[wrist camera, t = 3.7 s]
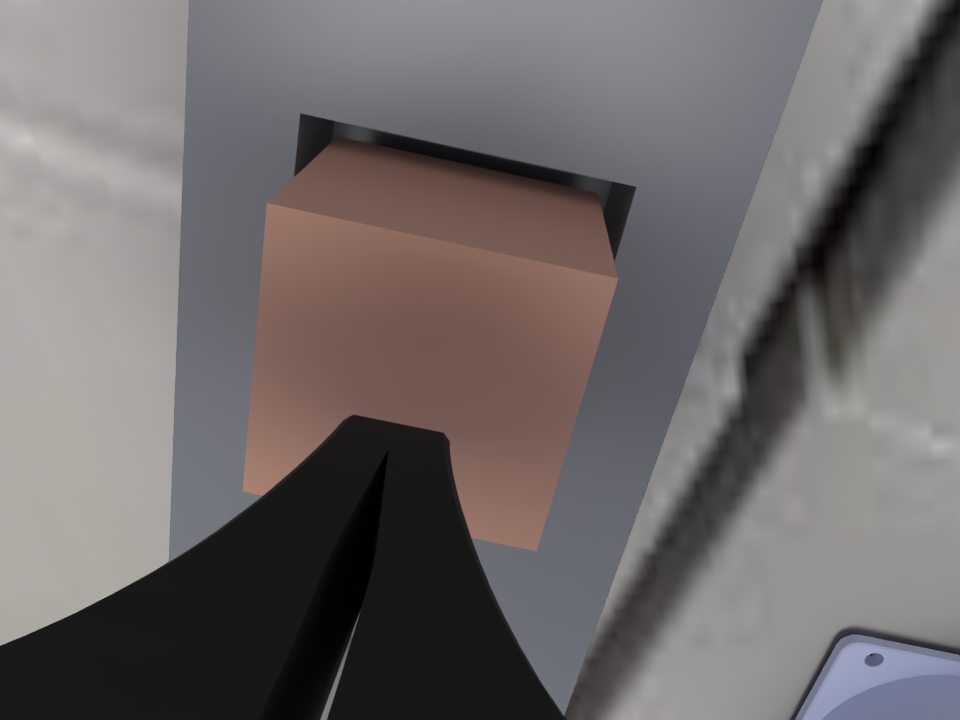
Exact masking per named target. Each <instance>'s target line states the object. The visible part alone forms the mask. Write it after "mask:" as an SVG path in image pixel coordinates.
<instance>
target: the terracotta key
mask: <svg viewBox="0 0 960 720" xmlns="http://www.w3.org/2000/svg"><path fill="white" fill-rule="evenodd" d="M617 281H618V275H617V271H616V267H615V263H614V259H613V254H612V250H611V246H610V242H609V238H608V233H607V229H606V225H605V221H604V217H603V212H602V208H601V204H600V200H599V196H598V193H596V192H591V191H587V190H582V189H577V188H573V187H568V186H564V185H559V184H554V183H550V182H545V181H541V180H536V179H531V178H527V177H522V176H518V175H513V174H509V173H504V172H499V171H495V170H490V169H486V168H481V167H476V166H472V165H467V164H463V163H458V162H453V161H449V160H444V159H440V158H435V157H431V156H426V155H421V154H417V153H412V152H408V151H403V150H398V149H394V148H389V147H385V146H380V145H375V144H371V143H366V142H362V141H357V140H353V139H348V138H343V137H339V136H338V137H336V138H335V139H334V140H333V141H332V142H331V143H330V144H329V145H328V146H327V147H326V148H325V149H324V150H323V151H322V152H321V153H320V154H318V155H317V156H316V157H315V158H314V159H313V160H312V161H311V162H310V163H309V164H308V165H307V166H306V167H305V168H304V169H303V170H302V171H300V172H299V173H298V174H297V175H296V176H295V177H294V178H293V179H292V180H291V181H290V182H289V183H288V184H287V185H286V186H285V187H284V188H283V189H281V190H280V191H279V192H278V193H277V194H276V195H275V196H274V197H273V198H272V199H271V200H270V201H269V202H268V203H267V208H266V220H265V231H264V243H263V255H262V267H261V278H260V290H259V302H258V314H257V326H256V337H255V349H254V361H253V373H252V384H251V396H250V408H249V420H248V432H247V443H246V455H245V467H244V479H243V491H242V492H247V493H252V494H257V495H262V496H263V495H264V494H266V493H267V492H268V491H269V490H270V489H272V488H273V487H274V486H275V485H276V484H277V483H279V482H280V481H281V480H282V479H283V478H284V477H285V476H287V475H288V474H289V473H290V472H291V471H292V470H294V469H295V468H296V467H297V466H298V465H299V464H300V463H301V462H303V461H304V460H305V459H306V458H307V457H308V456H309V455H310V454H311V453H312V452H313V451H314V450H315V449H316V448H317V447H318V446H319V445H320V444H321V443H322V442H323V441H324V440H325V439H326V438H327V437H328V436H329V435H330V434H331V433H332V432H333V431H334V430H335V429H336V428H337V427H338V426H339V424H340V423H341V422H342V421H343V420H344V419H346V418H348V417H349V416H351V415H353V414H354V415H359V416H364V417H369V418H373V419H378V420H383V421H388V422H393V423H398V424H403V425H408V426H413V427H418V428H423V429H428V430H433V431H438V432H443V433H444V434H445V435H446V437H447V438H448V440H449V441H450V456H451V464H452V470H453V475H454V480H455V484H456V488H457V493H458V497H459V500H460V504H461V507H462V511H463V514H464V517H465V520H466V523H467V526H468V529H469V532H470V535H471V538H474V539H479V540H484V541H489V542H494V543H499V544H504V545H509V546H514V547H518V548H523V549H528V550H533V551H537V549H538V545H539V542H540V539H541V535H542V532H543V529H544V525H545V522H546V518H547V515H548V512H549V508H550V505H551V502H552V498H553V495H554V492H555V488H556V485H557V482H558V478H559V475H560V472H561V468H562V465H563V462H564V458H565V455H566V452H567V448H568V445H569V442H570V438H571V435H572V432H573V428H574V425H575V422H576V418H577V415H578V412H579V408H580V405H581V402H582V398H583V395H584V392H585V388H586V385H587V382H588V378H589V375H590V372H591V368H592V365H593V362H594V358H595V355H596V352H597V348H598V345H599V341H600V338H601V335H602V331H603V328H604V325H605V321H606V318H607V315H608V311H609V308H610V305H611V301H612V298H613V295H614V291H615V288H616V285H617Z"/></svg>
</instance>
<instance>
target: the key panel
mask: <svg viewBox="0 0 960 720" xmlns="http://www.w3.org/2000/svg"><path fill="white" fill-rule="evenodd" d="M822 2H823V0H189V20H188V48H187V76H186V103H185V131H184V159H183V187H182V214H181V242H180V270H179V297H178V325H177V353H176V380H175V408H174V436H173V464H172V491H171V519H170V547H169V562H170V561H171V560H173V559H175V558H176V557H178V556H179V555H181V554H183V553H184V552H186V551H187V550H189V549H190V548H192V547H193V546H195V545H197V544H198V543H199V542H201V541H202V540H204V539H205V538H207V537H208V536H210V535H211V534H213V533H214V532H215V531H217V530H218V529H220V528H221V527H222V526H224V525H225V524H226V523H228V522H229V521H230V520H232V519H233V518H234V517H236V516H237V515H238V514H240V513H241V512H242V511H244V510H245V509H246V508H248V507H249V506H250V505H252V504H253V503H254V502H255V501H257V500H258V499H259V498H261V497H262V495H257V494H252V493H247V492H242V491H243V479H244V467H245V455H246V443H247V432H248V420H249V408H250V396H251V384H252V373H253V361H254V349H255V337H256V326H257V314H258V302H259V290H260V278H261V267H262V255H263V243H264V231H265V220H266V208H267V203H268V202H269V201H270V200H271V199H272V198H273V197H274V196H275V195H276V194H277V193H278V192H279V191H280V190H281V189H283V188H284V187H285V186H286V185H287V184H288V183H289V182H290V181H291V180H292V179H293V178H294V177H295V176H296V175H297V174H298V173H299V172H300V171H302V170H303V169H304V168H305V167H306V166H307V165H308V164H309V163H310V162H311V161H312V160H313V159H314V158H315V157H316V156H317V155H318V154H320V153H321V152H322V151H323V150H324V149H325V148H326V147H327V146H328V145H329V144H330V143H331V142H332V141H333V140H334V139H335V138H336V137H338V136H339V137H343V138H348V139H353V140H357V141H362V142H366V143H371V144H375V145H380V146H385V147H389V148H394V149H398V150H403V151H408V152H412V153H417V154H421V155H426V156H431V157H435V158H440V159H444V160H449V161H453V162H458V163H463V164H467V165H472V166H476V167H481V168H486V169H490V170H495V171H499V172H504V173H509V174H513V175H518V176H522V177H527V178H531V179H536V180H541V181H545V182H550V183H554V184H559V185H564V186H568V187H573V188H577V189H582V190H587V191H591V192H596V193H598V196H599V200H600V204H601V208H602V212H603V217H604V221H605V225H606V229H607V233H608V238H609V242H610V246H611V250H612V254H613V259H614V263H615V267H616V271H617V275H618V281H617V285H616V288H615V291H614V295H613V298H612V301H611V305H610V308H609V311H608V315H607V318H606V321H605V325H604V328H603V331H602V335H601V338H600V341H599V345H598V348H597V352H596V355H595V358H594V362H593V365H592V368H591V372H590V375H589V378H588V382H587V385H586V388H585V392H584V395H583V398H582V402H581V405H580V408H579V412H578V415H577V418H576V422H575V425H574V428H573V432H572V435H571V438H570V442H569V445H568V448H567V452H566V455H565V458H564V462H563V465H562V468H561V472H560V475H559V478H558V482H557V485H556V488H555V492H554V495H553V498H552V502H551V505H550V508H549V512H548V515H547V518H546V522H545V525H544V529H543V532H542V535H541V539H540V542H539V545H538V549H537V551H533V550H528V549H523V548H518V547H514V546H509V545H504V544H499V543H494V542H489V541H484V540H479V539H474V538H472V542H473V544H474V547H475V550H476V552H477V555H478V558H479V560H480V563H481V565H482V567H483V570H484V572H485V575H486V577H487V579H488V582H489V584H490V587H491V589H492V591H493V593H494V596H495V598H496V600H497V602H498V604H499V606H500V608H501V610H502V612H503V615H504V617H505V619H506V621H507V622H508V624H509V626H510V628H511V630H512V632H513V634H514V636H515V638H516V639H517V641H518V643H519V645H520V647H521V649H522V650H523V652H524V654H525V655H526V657H527V659H528V661H529V662H530V664H531V666H532V667H533V669H534V671H535V673H536V674H537V676H538V678H539V679H540V681H541V683H542V684H543V686H544V687H545V689H546V690H547V692H548V693H549V695H550V696H551V698H552V699H553V700H554V702H555V703H556V705H557V706H558V708H559V709H560V711H561V712H562V714H563V715H565V712H566V709H567V706H568V704H569V701H570V698H571V695H572V693H573V690H574V687H575V684H576V682H577V679H578V676H579V673H580V671H581V668H582V665H583V662H584V659H585V657H586V654H587V651H588V648H589V646H590V643H591V640H592V637H593V635H594V632H595V629H596V626H597V624H598V621H599V618H600V615H601V612H602V610H603V607H604V604H605V601H606V599H607V596H608V593H609V590H610V588H611V585H612V582H613V579H614V577H615V574H616V571H617V568H618V565H619V563H620V560H621V557H622V554H623V552H624V549H625V546H626V543H627V541H628V538H629V535H630V532H631V530H632V527H633V524H634V521H635V518H636V516H637V513H638V510H639V507H640V505H641V502H642V499H643V496H644V494H645V491H646V488H647V485H648V483H649V480H650V477H651V474H652V472H653V469H654V466H655V463H656V460H657V458H658V455H659V452H660V449H661V447H662V444H663V441H664V438H665V436H666V433H667V430H668V427H669V425H670V422H671V419H672V416H673V413H674V411H675V408H676V405H677V402H678V400H679V397H680V394H681V391H682V389H683V386H684V383H685V380H686V378H687V375H688V372H689V369H690V366H691V364H692V361H693V358H694V355H695V353H696V350H697V347H698V344H699V342H700V339H701V336H702V333H703V331H704V328H705V325H706V322H707V319H708V317H709V314H710V311H711V308H712V306H713V303H714V300H715V297H716V295H717V292H718V289H719V286H720V284H721V281H722V278H723V275H724V272H725V270H726V267H727V264H728V261H729V259H730V256H731V253H732V250H733V248H734V245H735V242H736V239H737V237H738V234H739V231H740V228H741V225H742V223H743V220H744V217H745V214H746V212H747V209H748V206H749V203H750V201H751V198H752V195H753V192H754V190H755V187H756V184H757V181H758V179H759V176H760V173H761V170H762V167H763V165H764V162H765V159H766V156H767V154H768V151H769V148H770V145H771V143H772V140H773V137H774V134H775V132H776V129H777V126H778V123H779V120H780V118H781V115H782V112H783V109H784V107H785V104H786V101H787V98H788V96H789V93H790V90H791V87H792V85H793V82H794V79H795V76H796V73H797V71H798V68H799V65H800V62H801V60H802V57H803V54H804V51H805V49H806V46H807V43H808V40H809V38H810V35H811V32H812V29H813V26H814V24H815V21H816V18H817V15H818V13H819V10H820V7H821V4H822ZM359 614H360V613H359ZM358 617H359V616H358ZM357 621H358V618H357ZM357 621H356V624H357ZM356 624H355V627H356ZM355 627H354V629H353V632H352V635H351V638H352V637H353V634H354V631H355Z"/></svg>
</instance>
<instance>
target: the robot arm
mask: <svg viewBox="0 0 960 720" xmlns="http://www.w3.org/2000/svg"><path fill="white" fill-rule="evenodd" d="M359 613H360V614H359ZM358 616H359V617H358ZM357 618H358V621H357ZM356 621H357V624H356ZM355 624H356V627H355ZM354 627H355V631H354V634H353V637H352V641H351V644H350V647H349V650H348V654H347V657H346V660H345V664H344V667H343V670H342V674H341V677H340V680H339V683H338V686H337V689H336V692H335V696H334V699H333V702H332V705H331V708H330V711H329V714H328V718H327V720H567V719H566V718H565V716H564V715H563V714H562V712H561V711H560V709H559V708H558V706H557V705H556V703H555V702H554V700H553V699H552V698H551V696H550V695H549V693H548V692H547V690H546V689H545V687H544V686H543V684H542V683H541V681H540V679H539V678H538V676H537V674H536V673H535V671H534V669H533V667H532V666H531V664H530V662H529V661H528V659H527V657H526V655H525V654H524V652H523V650H522V649H521V647H520V645H519V643H518V641H517V639H516V638H515V636H514V634H513V632H512V630H511V628H510V626H509V624H508V622H507V621H506V619H505V617H504V615H503V612H502V610H501V608H500V606H499V604H498V602H497V600H496V598H495V596H494V593H493V591H492V589H491V587H490V584H489V582H488V579H487V577H486V575H485V572H484V570H483V567H482V565H481V563H480V560H479V558H478V555H477V552H476V550H475V547H474V544H473V542H472V538H471V535H470V532H469V529H468V526H467V523H466V520H465V517H464V514H463V511H462V507H461V504H460V500H459V497H458V493H457V488H456V484H455V480H454V475H453V470H452V464H451V456H450V441H449V440H448V438H447V437H446V435H445V434H444V433H443V432H438V431H433V430H428V429H423V428H418V427H413V426H408V425H403V424H398V423H393V422H388V421H383V420H378V419H373V418H369V417H364V416H359V415H354V414H353V415H351V416H349V417H348V418H346V419H344V420H343V421H342V422H341V423H340V424H339V426H338V427H337V428H336V429H335V430H334V431H333V432H332V433H331V434H330V435H329V436H328V437H327V438H326V439H325V440H324V441H323V442H322V443H321V444H320V445H319V446H318V447H317V448H316V449H315V450H314V451H313V452H312V453H311V454H310V455H309V456H308V457H307V458H306V459H305V460H304V461H303V462H301V463H300V464H299V465H298V466H297V467H296V468H295V469H294V470H292V471H291V472H290V473H289V474H288V475H287V476H285V477H284V478H283V479H282V480H281V481H280V482H279V483H277V484H276V485H275V486H274V487H273V488H272V489H270V490H269V491H268V492H267V493H266V494H264V495H263V496H262V497H261V498H259V499H258V500H257V501H255V502H254V503H253V504H252V505H250V506H249V507H248V508H246V509H245V510H244V511H242V512H241V513H240V514H238V515H237V516H236V517H234V518H233V519H232V520H230V521H229V522H228V523H226V524H225V525H224V526H222V527H221V528H220V529H218V530H217V531H215V532H214V533H213V534H211V535H210V536H208V537H207V538H205V539H204V540H202V541H201V542H199V543H198V544H197V545H195V546H193V547H192V548H190V549H189V550H187V551H186V552H184V553H183V554H181V555H179V556H178V557H176V558H175V559H173V560H171V561H170V562H168V563H166V564H165V565H163V566H162V567H160V568H158V569H157V570H155V571H153V572H152V573H150V574H148V575H146V576H145V577H143V578H141V579H139V580H137V581H135V582H134V583H132V584H130V585H128V586H126V587H125V588H123V589H121V590H119V591H117V592H115V593H114V594H112V595H110V596H108V597H106V598H104V599H102V600H100V601H98V602H96V603H94V604H92V605H90V606H88V607H86V608H84V609H83V610H81V611H79V612H77V613H75V614H72V615H70V616H68V617H66V618H64V619H62V620H59V621H57V622H55V623H53V624H50V625H48V626H46V627H44V628H41V629H39V630H37V631H35V632H32V633H30V634H28V635H26V636H23V637H21V638H18V639H16V640H13V641H11V642H9V643H6V644H4V645H1V646H0V720H320V719H321V717H322V714H323V711H324V709H325V706H326V703H327V700H328V698H329V695H330V692H331V689H332V687H333V684H334V681H335V679H336V676H337V673H338V670H339V668H340V665H341V662H342V660H343V657H344V654H345V651H346V649H347V646H348V643H349V640H350V638H351V635H352V632H353V629H354ZM873 653H876V654H874V655H872V656H868V655H870V654H873ZM795 720H960V655H957V654H952V653H947V652H942V651H937V650H932V649H927V648H923V647H918V646H913V645H908V644H903V643H898V642H893V641H888V640H883V639H878V638H873V637H868V636H863V635H849V636H845V637H844V638H842V639H840V641H839V642H838V643H837V644H836V646H835V648H834V649H833V651H832V653H831V655H830V657H829V658H828V660H827V662H826V664H825V666H824V668H823V669H822V671H821V673H820V675H819V677H818V678H817V680H816V682H815V684H814V686H813V688H812V689H811V691H810V693H809V695H808V697H807V698H806V700H805V702H804V704H803V706H802V707H801V709H800V711H799V713H798V715H797V717H796V718H795Z"/></svg>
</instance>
